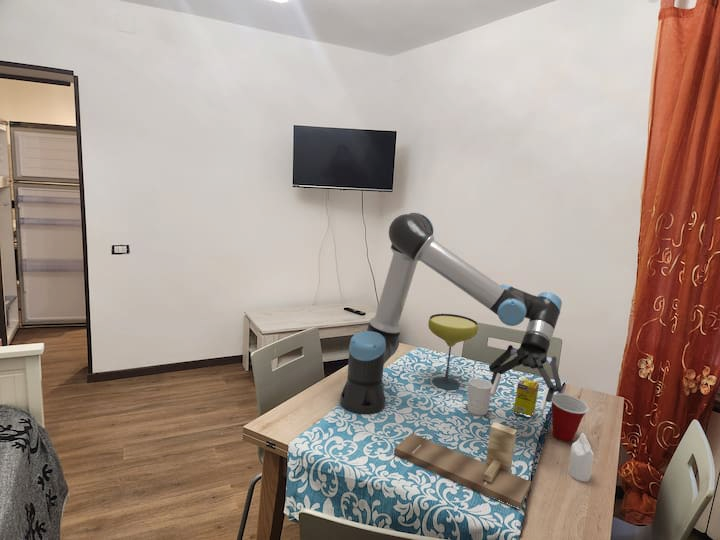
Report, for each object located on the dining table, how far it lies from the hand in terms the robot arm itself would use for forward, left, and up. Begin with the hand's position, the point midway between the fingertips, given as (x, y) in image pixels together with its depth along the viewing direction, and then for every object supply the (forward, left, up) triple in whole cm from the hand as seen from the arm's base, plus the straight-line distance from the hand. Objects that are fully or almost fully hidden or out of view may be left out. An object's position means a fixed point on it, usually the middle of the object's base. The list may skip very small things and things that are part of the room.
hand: (516, 402), depth 127 cm
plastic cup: (+11, +21, -16) cm, 28 cm away
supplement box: (-3, +29, -16) cm, 33 cm away
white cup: (-16, +19, -16) cm, 29 cm away
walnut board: (-8, -17, -16) cm, 25 cm away
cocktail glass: (-33, +32, -16) cm, 48 cm away
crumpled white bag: (+18, +3, -16) cm, 24 cm away
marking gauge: (0, -14, -15) cm, 21 cm away
